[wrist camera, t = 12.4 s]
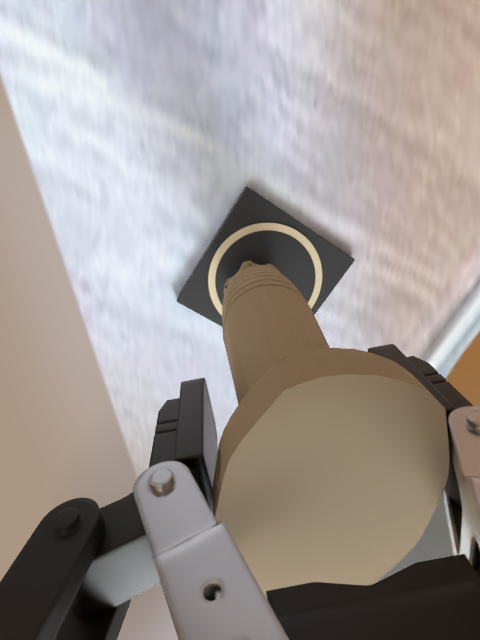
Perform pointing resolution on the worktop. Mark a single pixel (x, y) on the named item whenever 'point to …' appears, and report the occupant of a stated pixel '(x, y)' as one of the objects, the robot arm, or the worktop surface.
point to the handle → (320, 445)
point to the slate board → (263, 256)
